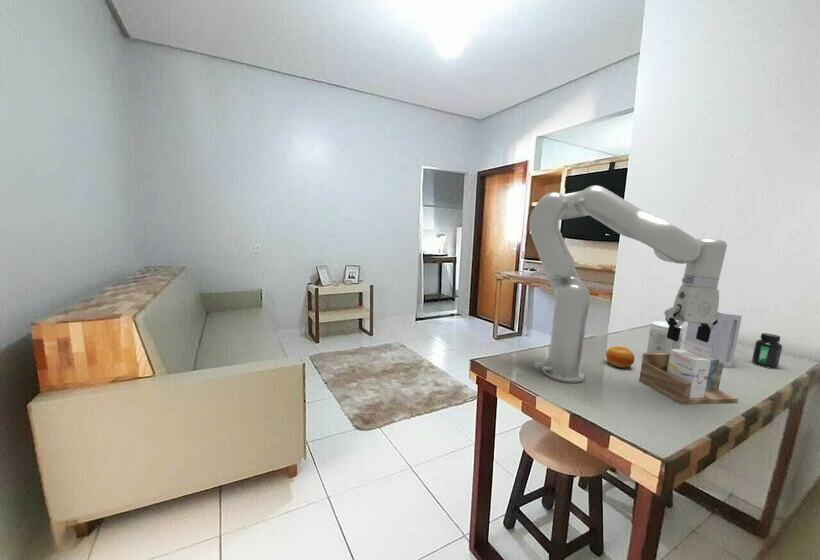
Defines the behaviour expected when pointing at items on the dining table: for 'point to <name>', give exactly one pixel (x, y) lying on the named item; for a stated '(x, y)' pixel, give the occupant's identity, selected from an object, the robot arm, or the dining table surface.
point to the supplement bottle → (767, 351)
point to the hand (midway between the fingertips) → (687, 340)
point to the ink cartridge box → (691, 367)
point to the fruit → (620, 356)
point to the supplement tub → (661, 338)
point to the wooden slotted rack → (677, 388)
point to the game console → (719, 336)
